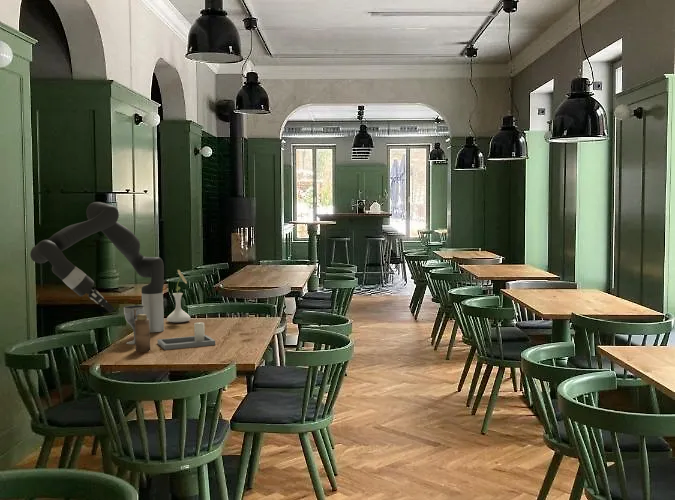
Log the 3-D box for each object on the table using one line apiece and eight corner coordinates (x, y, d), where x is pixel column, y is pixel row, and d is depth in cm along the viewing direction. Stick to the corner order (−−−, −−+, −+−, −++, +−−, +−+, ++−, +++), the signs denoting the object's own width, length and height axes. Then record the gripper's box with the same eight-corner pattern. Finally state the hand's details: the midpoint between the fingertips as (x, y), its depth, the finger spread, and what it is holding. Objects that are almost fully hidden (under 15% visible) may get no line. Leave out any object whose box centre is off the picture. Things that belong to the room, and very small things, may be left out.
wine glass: (127, 345, 302) (126, 308, 300) (123, 342, 309) (122, 306, 308) (147, 343, 305) (145, 306, 304) (142, 340, 312) (141, 304, 311)
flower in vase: (188, 323, 352) (186, 271, 350) (164, 324, 352) (162, 271, 350) (193, 319, 365) (192, 268, 363) (170, 319, 365) (168, 268, 363)
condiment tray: (157, 345, 300) (157, 339, 300) (206, 340, 308) (206, 334, 308) (164, 351, 287) (164, 345, 287) (215, 346, 295) (215, 340, 295)
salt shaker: (193, 342, 301) (193, 322, 300) (203, 341, 302) (202, 322, 302) (196, 344, 297) (195, 324, 297) (205, 343, 299) (205, 323, 298)
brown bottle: (134, 349, 292) (133, 314, 291) (148, 348, 294) (147, 313, 293) (137, 352, 287) (135, 316, 286) (151, 351, 289) (150, 315, 288)
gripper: (87, 275, 274) (120, 304, 279) (83, 272, 286) (115, 299, 292) (72, 290, 272) (106, 319, 277) (69, 286, 285) (101, 314, 290)
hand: (110, 309), depth 285 cm, fingers open, 8 cm apart
